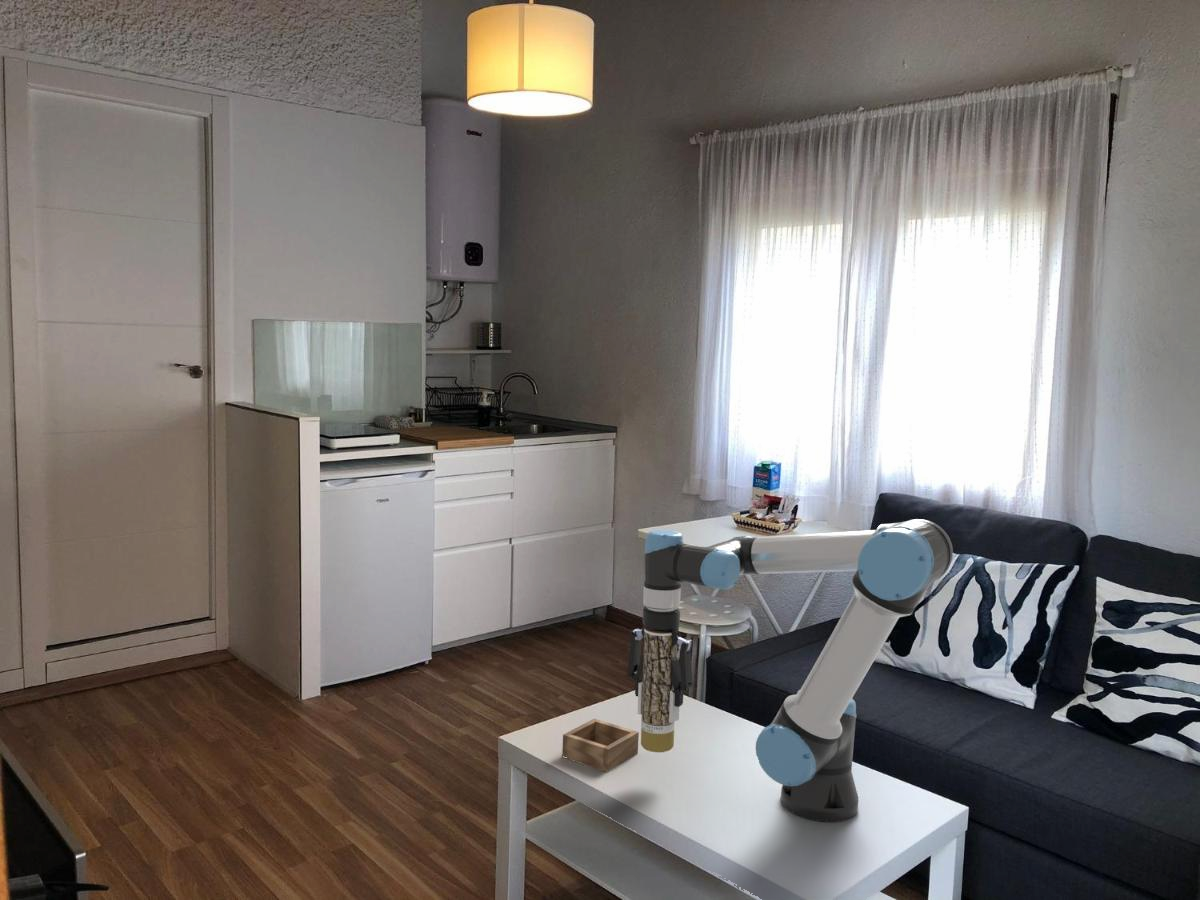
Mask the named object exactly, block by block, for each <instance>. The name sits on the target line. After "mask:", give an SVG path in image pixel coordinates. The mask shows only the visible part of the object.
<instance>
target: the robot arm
mask: <svg viewBox="0 0 1200 900" xmlns="http://www.w3.org/2000/svg"><path fill="white" fill-rule="evenodd" d="M953 553H954V550H953V544H952V541H951V538H950V537H949V535H948V534H947V532H946V531H945V530H944V529H943V528H942V527H941V526H939V525H938V524H937V523H935V522H932V521H930V520H928V519H927V520H926V519H921V518H920V519H919V518H915V519H909V520H906V521H902V522H901V521H900V522H892V523H881V524H880V525H878V527H877V528H876V529H870V530H855V531H838V532H836V531H835V532H823V533H822V532H821V533H820V532H819V533H806V534H790V535H788V534H787V535H786V534H785V535H773V536H772V535H771V536H769V535H768V536H757V537H753V536H750V535H739V536H735V537H733V538H731V539H728V540H725V541H722V542H719V543H714V544H712V545H709V546H697V545H690V544H687V543H684V537H683V534H682V533H681V532H679V531H676V530H673V529H655V530H652V531H649V532H648V533H647V534H646V536H645V545H644V552H643V555H644V577H643V578H644V579H643V580H644V581H643V597H642V600H643V602H642V604H643V605H644V607H643V608H642V624H643V626H642V628H641V629H640V628H635V629H633V630H631V631H629V639H630V647H629V655H628V662H627V664H628V665H627V670H626V671H627V672H626V676H627V677H628V678H632V679H633V680H634V682H635V683H634V687H635V689H634V694H635V697H637V715H641V716H642V686H643V655H641V653H642V646H643V639H644V629H645V627H647V628H650V629H655V630H661V631H666V632H673V633H671V634H672V646H674V645H675V644H676V645H677V649H678V650H679V660H678V656H677V657H676V660H675V661H672V660H671V664H670V678H671V681H672V685H673V690H671V691H670V707H669V722H670V723H673V722H675V723H676V722H677V721H678V720H680V707H682V705H683V704H684V692H685V691H687V690H689V689H691V688H692V687H693V686H694V685H693V684H694V683H693V669H692V668H693V667H692V656H691V655H692V652H691V651H692V647H693V640H692V639H685V638H683V637H681V633H680V630H679V629H680V623H681V609H680V608H679V607H680V606H681V594H682V593H681V592H682V583H686V584H690V585H695V586H701V587H706V588H709V589H713V590H718V589H719V590H729V589H732V588H733V587H734V586H735V584H736V583H738V579H739V577H740V576H749V575H750V576H752V575H754V576H755V575H764V574H766V575H767V574H769V575H770V574H793V573H794V574H795V573H798V574H799V573H800V574H801V573H831V572H833V573H834V572H855V574H853V576H852V579H851V585H852V588H853V591H854V593H853V595H852V597H851V598H850V601H849V602H848V604H847V606H846V608H845V609H844V611H843V613H842V614H841V617H840V618H839V620H838V622H837V624H836V625H835V627H834V629H833V631H832V633H831V634H830V636H829V638H828V640H827V641H826V643H825V646H824V647H823V649H822V651H821V652H820V654H819V656H818V658H817V659H816V661H815V662H814V665H813V667H812V668H811V670H810V672H809V674H808V675H807V678H806V679H805V681H804V683H803V685H802V686H801V687H800V689H799V690H797V692H796V694H791V695H788V696H787V697H786V698H785V699H784V701H783V703H782V705H781V706H780V708H779V709H778V711H777V712H776V713H777V714H776V716H775V717H774V718H773V720H772V722H771V723H770V724H769V725H767V726H765V727H763V728H762V730H761V732H760V733H759V734H758V736H757V738H756V740H755V755H756V757H757V759H758V763H759V766H760V768H761V769H762V770H763V772H764V773H765V774H766V775H767V776H768V777H769V778H770V779H772V781H774V782H776V783H778V784H780V785H782V786H781V790H780V801H781V804H782V806H783V807H785V809H786V810H788V811H789V812H791V813H793V814H795V816H799V817H801V818H804V819H808V820H813V821H817V822H829V823H831V822H842V821H846V820H849V819H851V818H853V817H854V816H856V815H857V814H858V812H859V810H858V809H859V796H858V791H857V788H856V784H855V780H854V776H853V771H852V769H853V768H852V767H853V759H854V758H853V757H854V755H853V754H854V746H855V745H854V743H855V734H856V733H855V732H856V731H855V730H856V719H857V712H856V711H857V705H856V704H857V703H856V701H855V700H854V699H853V697H854V696H855V694H856V692H857V690H858V689H859V688H860V686H861V684H862V682H863V680H864V679H865V677H866V675H867V674H868V672H869V670H870V668H871V666H872V664H873V663H874V661H875V660H876V658H877V656H879V655H878V654H879V653H880V651H881V650H882V647H883V646H884V645H885V642H886V641H887V640H888V637H889V636H890V634H891V633H892V631H893V629H894V627H895V626H896V624H897V622H898V621H899V619H900V618H903V617H908V616H911V615H913V613H914V611H915V610H916V608H917V606H918V604H919V602H920V601H921V599H922V597H923V596H924V595H925V592H926V591H927V589H928V588H929V586H930V585H931V584H932V583H934V582H936V581H937V580H939V579H941V578H942V577H943V576H944V575H945V574H946V573H947V571H948V570H949V568H950V566H951V564H952V561H953V556H954V554H953ZM643 653H644V650H643Z"/></svg>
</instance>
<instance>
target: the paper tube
mask: <svg viewBox="0 0 1200 900" xmlns="http://www.w3.org/2000/svg"><path fill="white" fill-rule="evenodd" d="M671 633H673V632H666V631H661V630H655V629H650V628H647V627H645V629H644V638H643V651H644V652H643V654H642V656H643V686H642V714H641V725H640V728H641V729H640V745H641V747H642V748H643V750H646V751H647V752H652V753H666V752H669V751H670V750H672V749H673V748H674V745H675V723H676V721H675V722H673V723H670V722H669V707H670V691H671V690H673V685H672V681H671V678H670V664H671V660H672V661H675V660H676V657H677V658H678V644H677V645H676V644H675V645H674V646H672V634H671Z"/></svg>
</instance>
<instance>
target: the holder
mask: <svg viewBox="0 0 1200 900" xmlns="http://www.w3.org/2000/svg"><path fill="white" fill-rule="evenodd" d="M639 733H640V732H639V731H637V730H633V729H629V728H626V727H624V726H620V725H617V724H614V723H610V722H606V721H604V720H600V719H597V718H593V719H591V720H589V721H587V722H585V723H583V724H581V725H579V726H577V727H575V728H573V729H571V730H570V731H567V732H566V733H564V734H562V748H561V749H562V751H561V752H562V753H561V756H564V757H567V758H569V759H568V760H570V759H572V760H571V761H573V760H575V761H574V762H576V761H577V763H579V762H581V763H580V764H582V763H583V764H582V765H585V764H586V765H585V766H588V765H589V766H588V767H591V766H592V768H594V767H595V768H594V769H598V770H599V771H600V770H601V771H603V772H606V773H608V772H609V771H611V770H613V769H615V768H616V767H619V766H620V765H621V764H623V763H625V762H627V761H629V760H630V759H632V758H633V757H635V756H637V755H638V753H639V736H640V735H639ZM564 757H563V758H564ZM567 758H566V759H567Z"/></svg>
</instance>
